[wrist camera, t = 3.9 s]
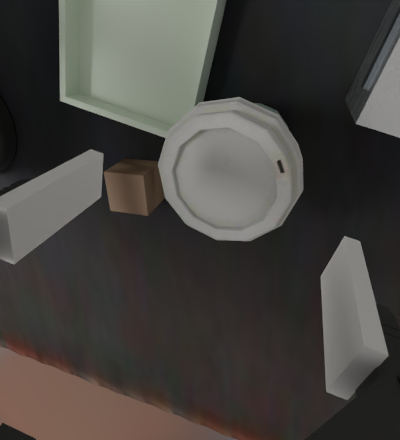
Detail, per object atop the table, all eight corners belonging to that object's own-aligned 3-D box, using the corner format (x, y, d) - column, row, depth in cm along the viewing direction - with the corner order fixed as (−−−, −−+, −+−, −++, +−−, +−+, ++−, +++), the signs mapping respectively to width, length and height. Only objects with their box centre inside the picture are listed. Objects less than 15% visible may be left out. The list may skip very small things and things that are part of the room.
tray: (76, 96, 38) (59, 100, 36) (79, -70, 30) (58, -80, 27) (194, 137, 36) (185, 145, 34) (233, -30, 28) (225, -37, 25)
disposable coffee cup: (228, 190, 38) (185, 264, 26) (191, 102, 34) (121, 139, 22) (320, 163, 33) (323, 237, 21) (289, 57, 30) (269, 71, 17)
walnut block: (130, 194, 43) (110, 210, 39) (125, 158, 40) (103, 171, 36) (164, 198, 41) (147, 215, 37) (161, 161, 39) (143, 175, 35)
